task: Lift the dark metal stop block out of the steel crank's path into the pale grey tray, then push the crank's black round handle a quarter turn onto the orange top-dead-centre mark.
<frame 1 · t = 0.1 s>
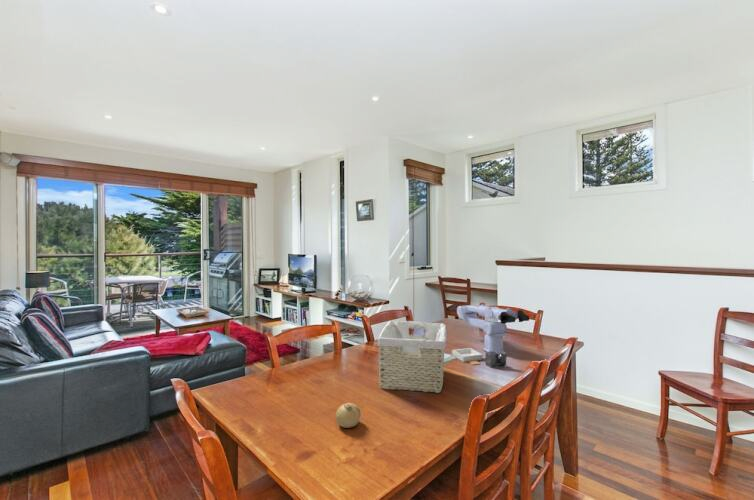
hand: (521, 319, 163), 22 cm above the table, tool horizontal, fingers open, 7 cm apart
basket: (413, 380, 147), on the table
crank: (496, 356, 165), point 4 cm above the table, hinge at 0.0°
onion: (348, 425, 112), on the table
tray: (467, 357, 174), on the table
stop block: (491, 365, 163), on the table
crank foot: (490, 360, 169), on the table
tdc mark: (474, 362, 166), on the table
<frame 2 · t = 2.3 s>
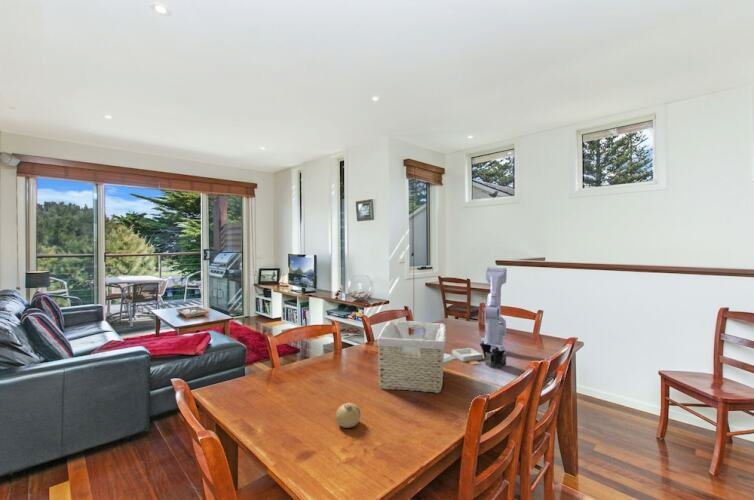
hand: (491, 361, 163), 2 cm above the table, tool pointing down, fingers open, 7 cm apart
crank: (496, 356, 165), point 4 cm above the table, hinge at 0.0°, touching gripper
everything else where it was.
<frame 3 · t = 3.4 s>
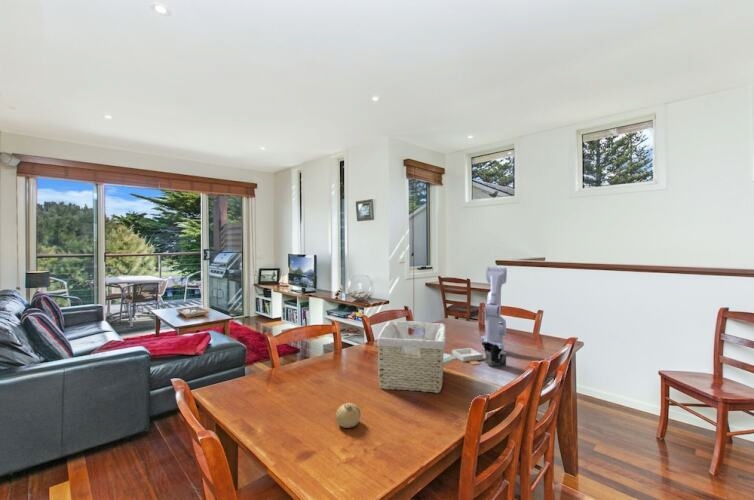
hand: (491, 359, 163), 3 cm above the table, tool pointing down, fingers closed on stop block, 4 cm apart
crank: (496, 356, 165), point 4 cm above the table, hinge at 0.3°
stop block: (492, 363, 163), point 1 cm above the table, touching gripper
everything else where it was.
when the fingers open (4 cm above the table, at t = 6.2 s): stop block drops 1 cm, resting on tray.
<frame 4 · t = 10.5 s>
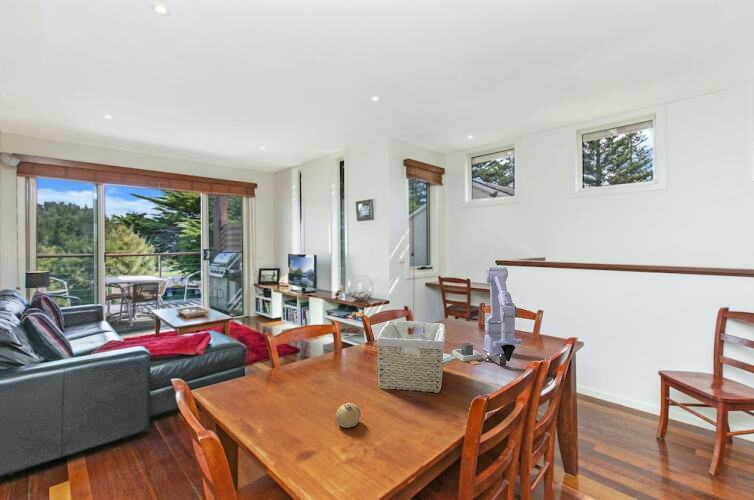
hand: (507, 360, 161), 3 cm above the table, tool pointing down, fingers closed
crank: (496, 356, 165), point 4 cm above the table, hinge at 0.0°, touching gripper
stop block: (467, 356, 174), resting on tray
everything else where it was.
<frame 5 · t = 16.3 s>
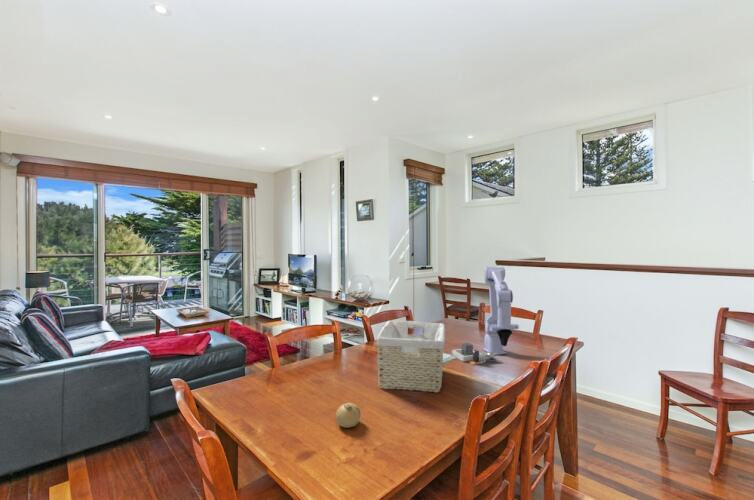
hand: (503, 345, 163), 9 cm above the table, tool pointing down, fingers closed
crank: (483, 354, 167), point 4 cm above the table, hinge at -83.0°
everything else where it was.
at the end: stop block 0.1 cm off-centre on the tray, point 0.5 cm above the tray's base; stop block tilted 0°; crank at -83° (first picture: +0°) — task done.
